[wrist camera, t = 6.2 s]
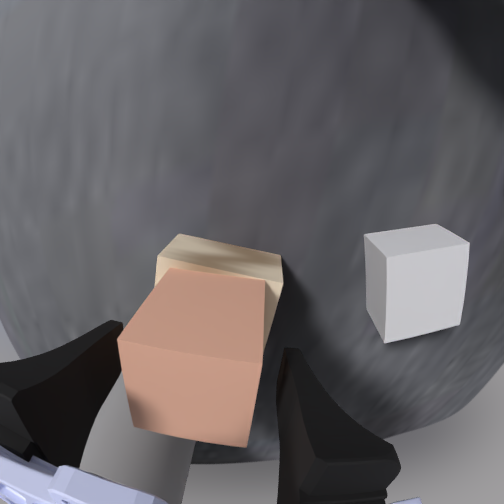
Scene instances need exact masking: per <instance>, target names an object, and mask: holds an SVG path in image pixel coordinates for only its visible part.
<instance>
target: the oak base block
mask: <svg viewBox="0 0 504 504" xmlns="http://www.w3.org/2000/svg"><path fill="white" fill-rule="evenodd" d="M169 268H177V269H184V270H192V271H199V272H206V273H214V274H221V275H229V276H237V277H244V278H252V279H260V280H265V302H264V333H263V352H264V349H265V346H266V342H267V339H268V336H269V332H270V329H271V325H272V322H273V318H274V315H275V311H276V308H277V304H278V301H279V297H280V293H281V290H282V286H283V274H282V264H281V255H277V254H272V253H267V252H263V251H258V250H254V249H249V248H244V247H240V246H235V245H230V244H226V243H221V242H216V241H212V240H207V239H202V238H198V237H193V236H188V235H184V234H178V235H177V236H176V237H175V238H174V239H173V240H172V241H171V242H170V243H169V244H168V245H167V246H166V248H165V249H164V250H163V251H162V252H161V253H160V254H159V255H158V257H157V268H156V279H155V286H156V285H157V284H158V282H159V281H160V280H161V278H162V277H163V276H164V274H165V273H166V272H167V271H168V269H169Z"/></svg>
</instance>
